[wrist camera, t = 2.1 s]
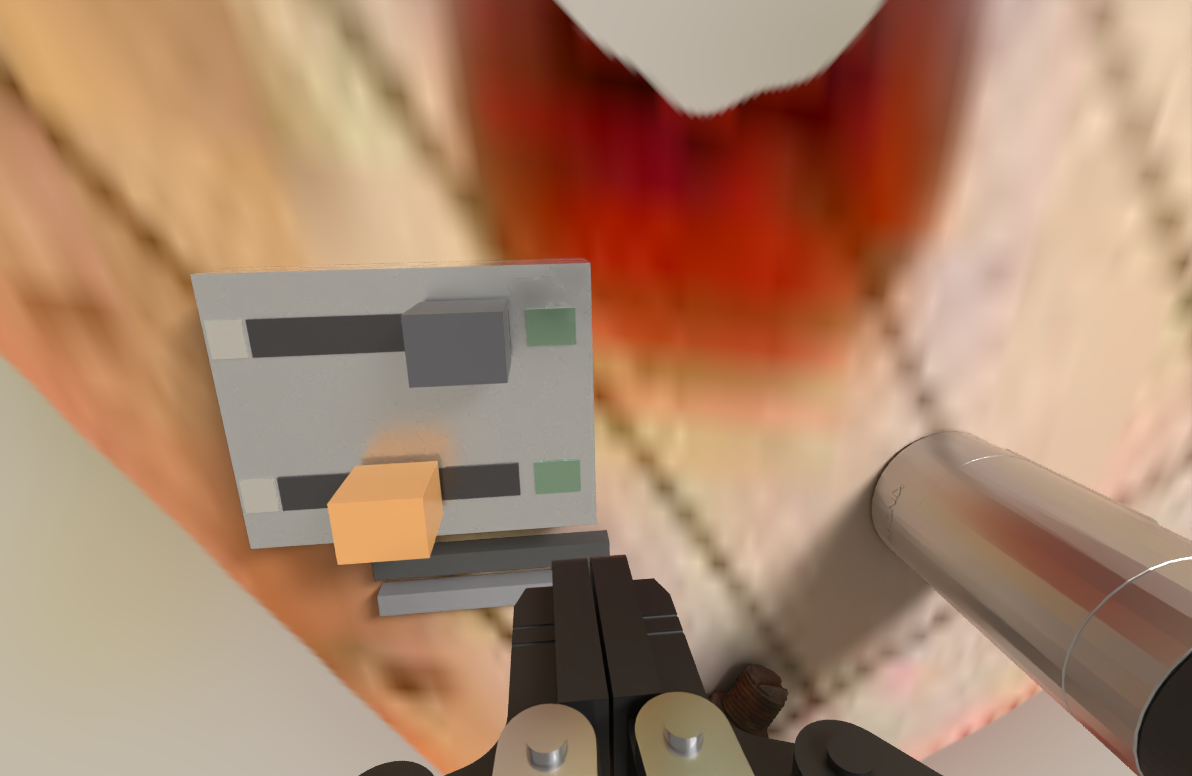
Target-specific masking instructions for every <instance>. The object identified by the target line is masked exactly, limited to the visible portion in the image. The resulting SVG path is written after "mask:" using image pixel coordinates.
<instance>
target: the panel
mask: <svg viewBox="0 0 1192 776" xmlns="http://www.w3.org/2000/svg"><path fill="white" fill-rule="evenodd" d="M190 275H191V280H192V284H193V289H194V293H195V298H196V302H197V307H198V311H199V316H200V321H201V325H202V330H203V334H204V339H205V343H206V348H207V352H208V357H209V361H210V366H211V370H212V375H213V380H214V384H215V389H216V393H217V398H218V402H219V407H220V411H221V416H222V420H223V425H224V429H225V434H226V438H227V443H228V448H229V452H230V457H231V461H232V466H233V470H234V475H235V479H236V484H237V488H238V493H239V497H240V502H241V507H242V511H243V516H244V520H245V525H246V529H247V534H248V538H249V543H250V547H251V549H257V548H271V547H285V546H299V545H313V544H327V543H334V541H333V535H332V529H331V524H330V518H329V512H328V506H327V504H328V502H329V501H330V500H331V498H332V497H333V495H334V494H335V493H336V491H337V490H338V489H339V487H340V486H341V485H342V483H343V482H344V481H345V479H346V478H347V477H348V475H349V474H350V472H351V471H352V470H353V468H354V467H355V466H361V465H378V464H394V463H411V462H428V461H438V469H439V479H440V488H441V497H442V506H443V517H442V520H441V523H440V527H439V530H438V533H437V536H438V535H452V534H466V533H480V532H494V531H508V530H522V529H536V528H550V527H564V526H578V525H592V524H596V483H595V440H594V397H593V354H592V312H591V269H590V262H588V261H587V260H586V259H584V258H562V259H526V260H490V261H454V262H418V263H382V264H346V265H311V266H275V267H239V268H229V269H223V270H216V271H210V272H203V273H196V274H190ZM483 299H507V301H508V316H509V331H510V347H511V366H510V372H509V378H508V383H500V384H479V385H458V386H437V387H417V388H409V381H408V373H407V364H406V356H405V347H404V339H403V331H402V322H401V315H402V314H403V313H405V312H406V311H407V310H409V309H410V308H412V307H413V306H415V305H416V304H418V303H419V302H425V301H454V300H483Z"/></svg>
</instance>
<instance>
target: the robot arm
mask: <svg viewBox="0 0 1192 776" xmlns="http://www.w3.org/2000/svg"><path fill="white" fill-rule="evenodd" d="M872 519H873V523H874V527H875V529H876V531H877V533H878V535H879V537H880V538H881V539H882V541H883V542H884V543H885V544H886V545H887V546H888V547H889V548H890V549H891V550H892V551H893V552H894V553H896V554H897V555H898V556H899V557H900V558H901V559H902V560H903V561H904V562H905V563H906V564H907V565H909V566H910V567H911V568H912V569H913V570H914V571H915V572H916V573H917V574H918V575H919V576H921V577H922V578H923V579H924V580H925V581H926V582H927V583H928V584H929V585H930V586H931V587H932V588H933V589H934V590H935V591H937V592H938V593H939V594H940V595H941V596H942V597H943V598H944V599H945V600H946V601H947V602H948V603H950V604H951V605H952V606H953V607H954V608H955V609H956V610H957V611H958V612H959V613H960V614H962V615H963V616H964V617H965V618H966V619H967V620H968V621H969V622H970V623H971V624H972V625H974V626H975V627H976V628H977V629H978V630H979V631H980V632H981V633H982V634H983V635H984V636H986V637H987V638H988V639H989V640H990V641H991V642H992V643H993V644H994V645H995V646H996V647H998V648H999V649H1000V650H1001V651H1002V652H1003V653H1004V654H1005V655H1006V656H1007V657H1008V658H1010V659H1011V660H1012V661H1013V662H1014V663H1015V664H1016V665H1017V666H1018V667H1019V668H1020V669H1022V670H1023V671H1024V672H1025V673H1026V674H1027V675H1028V676H1029V677H1030V678H1031V679H1032V680H1034V681H1035V682H1036V683H1037V684H1038V685H1039V686H1040V687H1041V688H1042V689H1043V690H1044V691H1046V692H1047V693H1048V694H1049V695H1050V696H1051V697H1052V698H1053V699H1054V700H1055V701H1056V702H1058V703H1059V704H1060V705H1061V706H1062V707H1063V708H1064V709H1065V710H1066V711H1067V712H1068V713H1070V714H1071V715H1072V716H1073V717H1074V718H1075V719H1076V720H1077V721H1079V722H1080V723H1081V724H1082V725H1083V726H1084V727H1085V728H1086V729H1087V730H1088V731H1090V732H1091V733H1092V734H1093V735H1094V736H1095V737H1096V738H1097V739H1098V740H1099V741H1100V742H1102V743H1103V744H1104V745H1105V746H1106V747H1107V748H1108V749H1109V750H1110V751H1111V752H1112V753H1113V754H1115V755H1116V756H1117V757H1118V758H1119V759H1120V760H1121V761H1122V762H1123V763H1124V764H1125V765H1127V766H1128V767H1129V768H1130V769H1131V770H1132V771H1133V772H1134V773H1135V774H1137V775H1138V776H1192V541H1191V540H1189V539H1187V538H1184V537H1182V536H1180V535H1178V534H1176V533H1174V532H1172V531H1170V530H1168V529H1166V528H1164V527H1162V526H1160V525H1159V524H1158V523H1157V521H1155V520H1154V519H1152V518H1150V517H1148V516H1146V515H1144V514H1142V513H1140V512H1138V511H1136V510H1134V509H1132V508H1129V507H1127V506H1125V505H1123V504H1121V503H1119V502H1117V501H1115V500H1113V499H1111V498H1109V497H1107V496H1104V495H1102V494H1100V493H1098V492H1096V491H1094V490H1092V489H1090V488H1088V487H1086V486H1084V485H1081V484H1079V483H1077V482H1075V481H1073V480H1071V479H1069V478H1067V477H1065V476H1063V475H1061V474H1059V473H1056V472H1054V471H1052V470H1050V469H1048V468H1046V467H1044V466H1042V465H1040V464H1038V463H1036V462H1034V461H1031V460H1029V459H1027V458H1025V457H1023V456H1021V455H1019V454H1017V453H1015V452H1013V451H1011V450H1008V449H1006V450H1004V449H1002V448H1000V447H997V446H995V445H993V444H991V443H989V442H987V441H985V440H983V439H981V438H978V437H976V436H974V435H972V434H968V433H962V432H941V433H937V434H934V435H930V436H927V437H925V438H922V439H920V440H918V441H916V442H914V443H912V444H911V445H910V446H908V447H907V448H905V449H904V450H902V451H901V452H900V453H899V454H898V455H897V456H896V457H895V458H894V459H893V460H892V461H891V462H890V463H889V465H888V466H887V467H886V469H885V470H884V472H883V473H882V474H881V476H880V479H879V481H878V483H877V485H876V487H875V491H874V495H873V499H872ZM552 585H553V586H547V587H534V588H526V589H525V590H524V592H523V593H522V595H521V596H520V598H519V599H518V601H517V603H516V604H515V606H514V617H513V634H512V652H511V669H510V687H509V704H508V717H507V723H506V726H505V728H504V729H503V731H502V733H501V735H500V737H499V740H498V741H497V743H496V744H495V745H494V746H493V747H492V748H491V749H490V750H489V752H487V753H486V754H485V755H484V756H483V757H481V758H480V759H478V760H477V761H475V762H474V763H472V764H470V765H468V766H466V767H464V768H462V769H459V770H457V771H455V772H452V773H450V774H447V775H445V776H942V775H941V774H939V773H937V772H935V771H934V770H932V769H930V768H929V767H927V766H925V765H924V764H922V763H921V762H919V761H917V760H916V759H914V758H912V757H911V756H909V755H907V754H906V753H904V752H902V751H901V750H899V749H897V748H896V747H894V746H892V745H891V744H889V743H887V742H886V741H884V740H882V739H881V738H879V737H877V736H876V735H874V734H872V733H871V732H869V731H867V730H865V729H863V728H861V727H859V726H856V725H854V724H851V723H848V722H844V721H838V720H821V721H816V722H813V723H811V724H809V725H807V726H806V727H804V728H803V729H802V730H801V731H800V733H799V734H798V736H797V738H796V741H795V743H789V742H784V741H779V740H774V739H769V738H764V737H760V736H756V735H752V734H749V733H747V732H744V731H742V730H740V729H738V728H736V727H734V726H733V725H731V724H730V723H729V721H728V720H727V718H726V716H725V715H724V714H723V713H722V711H721V710H720V709H719V708H718V707H717V706H715V705H714V704H713V703H711V702H710V701H709V700H708V698H707V696H706V693H705V690H704V688H703V685H702V682H701V679H700V676H699V674H698V671H697V668H696V665H695V663H694V660H693V657H692V654H691V651H690V649H689V646H688V643H687V640H686V638H685V635H684V634H683V629H682V626H681V624H680V621H679V618H678V617H677V613H676V610H675V607H674V604H673V601H672V599H671V596H670V594H669V593H668V592H667V591H666V590H665V589H664V588H663V587H662V586H661V585H660V584H659V583H658V582H657V581H656V580H655V579H654V578H653V579H640V580H633V579H632V576H631V572H630V568H629V565H628V561H627V557H626V555H614V556H600V557H590V561H589V566H588V560H587V558H573V559H559V560H552ZM359 776H434V775H433V774H432V773H431V772H430V771H429V770H428V769H427V768H426V767H424V766H422V765H420V764H417V763H414V762H409V761H393V762H389V763H384V764H381V765H378V766H375V767H373V768H371V769H369V770H367V771H366V772H364V773H362V774H361V775H359Z"/></svg>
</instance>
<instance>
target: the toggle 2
mask: <svg viewBox="0 0 1192 776" xmlns="http://www.w3.org/2000/svg"><path fill="white" fill-rule="evenodd" d="M401 322H402V331H403V339H404V347H405V356H406V364H407V373H408V381H409V388H417V387H437V386H458V385H479V384H500V383H508V378H509V372H510V366H511V347H510V331H509V316H508V301H507V299H483V300H454V301H425V302H419V303H418V304H416V305H415V306H413V307H412V308H410V309H409V310H407V311H406V312H405V313H403V314H402V315H401Z"/></svg>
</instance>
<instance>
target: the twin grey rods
mask: <svg viewBox="0 0 1192 776" xmlns="http://www.w3.org/2000/svg"><path fill="white" fill-rule="evenodd" d="M600 556H610V551H609V539H608V534H607V530H603V531H590V532H576V533H562V534H549V535H535V536H521V537H507V538H494V539H480V540H466V541H453V542H439V543H434V546H433V549H432V552H431V555H430V558H423V559H410V560H397V561H383V562H372V567H373V573H374V580H375V581H378V580H391V579H403V578H416V577H429V576H442V575H455V574H467V573H480V572H493V571H506V570H518V569H531V568H544V567H552V560H559V559H573V558H587V560H588V564H589V561H590V557H600ZM547 586H553V585H552V569H547V570H534V571H522V572H509V573H496V574H484V575H471V576H458V577H445V578H433V579H420V580H407V581H394V582H383V584H382V586H381V589H380V591H379V593H378V596H377V599H378V606H379V613H380V616H392V615H404V614H416V613H427V612H439V611H451V610H463V609H475V608H487V607H499V606H511V605H515V604H516V603H517V601H518V599H519V598H520V596H521V595H522V593H523V592H524V590H525V589H526V588H534V587H547Z"/></svg>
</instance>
